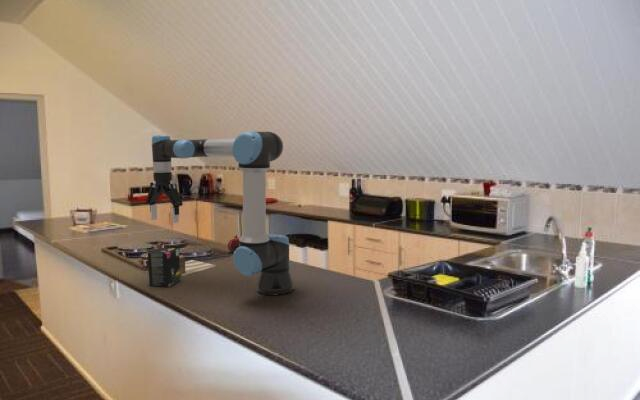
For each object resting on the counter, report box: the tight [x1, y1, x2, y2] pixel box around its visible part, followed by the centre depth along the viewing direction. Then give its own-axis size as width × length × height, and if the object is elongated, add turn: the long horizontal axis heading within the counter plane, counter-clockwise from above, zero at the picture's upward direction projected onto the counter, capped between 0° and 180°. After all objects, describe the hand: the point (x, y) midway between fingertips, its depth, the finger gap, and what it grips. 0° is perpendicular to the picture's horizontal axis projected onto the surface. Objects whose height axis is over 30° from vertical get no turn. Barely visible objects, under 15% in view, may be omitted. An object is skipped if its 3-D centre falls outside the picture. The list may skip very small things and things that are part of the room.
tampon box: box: [147, 247, 181, 288], centre depth 212 cm, size 11×9×15 cm
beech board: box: [179, 255, 217, 277], centre depth 235 cm, size 18×20×8 cm
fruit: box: [227, 234, 240, 253], centre depth 266 cm, size 9×10×10 cm
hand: (164, 221), depth 211 cm, fingers open, 13 cm apart
